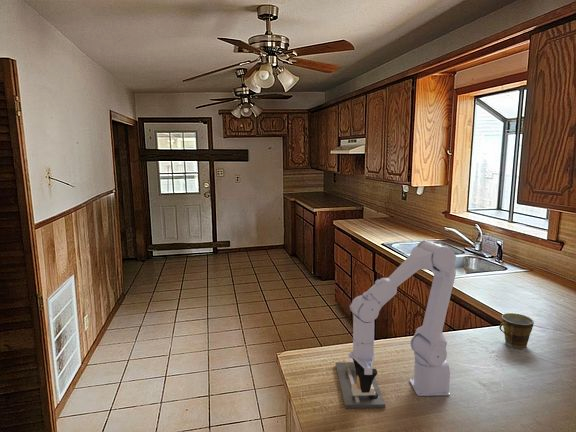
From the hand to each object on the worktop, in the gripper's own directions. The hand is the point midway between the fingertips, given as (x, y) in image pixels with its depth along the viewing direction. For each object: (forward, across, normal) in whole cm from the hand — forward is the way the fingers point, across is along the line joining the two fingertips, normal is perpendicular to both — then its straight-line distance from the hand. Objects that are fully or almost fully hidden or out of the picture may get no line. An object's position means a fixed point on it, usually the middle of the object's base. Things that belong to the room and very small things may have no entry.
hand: (362, 384), depth 109 cm
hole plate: (+5, -7, 0) cm, 8 cm away
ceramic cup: (+5, -30, +60) cm, 67 cm away
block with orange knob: (+3, 0, 0) cm, 3 cm away
